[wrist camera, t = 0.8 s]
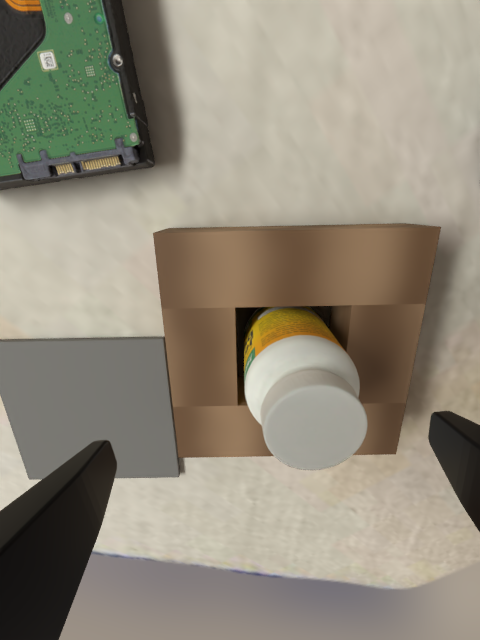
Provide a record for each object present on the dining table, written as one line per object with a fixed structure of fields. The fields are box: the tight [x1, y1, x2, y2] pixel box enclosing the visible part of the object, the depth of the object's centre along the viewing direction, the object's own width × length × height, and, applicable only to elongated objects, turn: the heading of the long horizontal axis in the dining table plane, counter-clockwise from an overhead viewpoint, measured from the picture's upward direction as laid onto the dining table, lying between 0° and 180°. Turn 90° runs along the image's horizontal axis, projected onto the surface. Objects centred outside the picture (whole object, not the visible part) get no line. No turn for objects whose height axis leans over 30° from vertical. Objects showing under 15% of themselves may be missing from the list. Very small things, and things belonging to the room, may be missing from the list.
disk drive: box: [0, 0, 155, 190], centre depth 14 cm, size 10×3×15 cm
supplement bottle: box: [244, 306, 367, 470], centre depth 16 cm, size 5×5×10 cm
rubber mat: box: [0, 337, 180, 479], centre depth 23 cm, size 12×12×1 cm
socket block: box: [153, 224, 441, 458], centre depth 19 cm, size 14×14×4 cm
